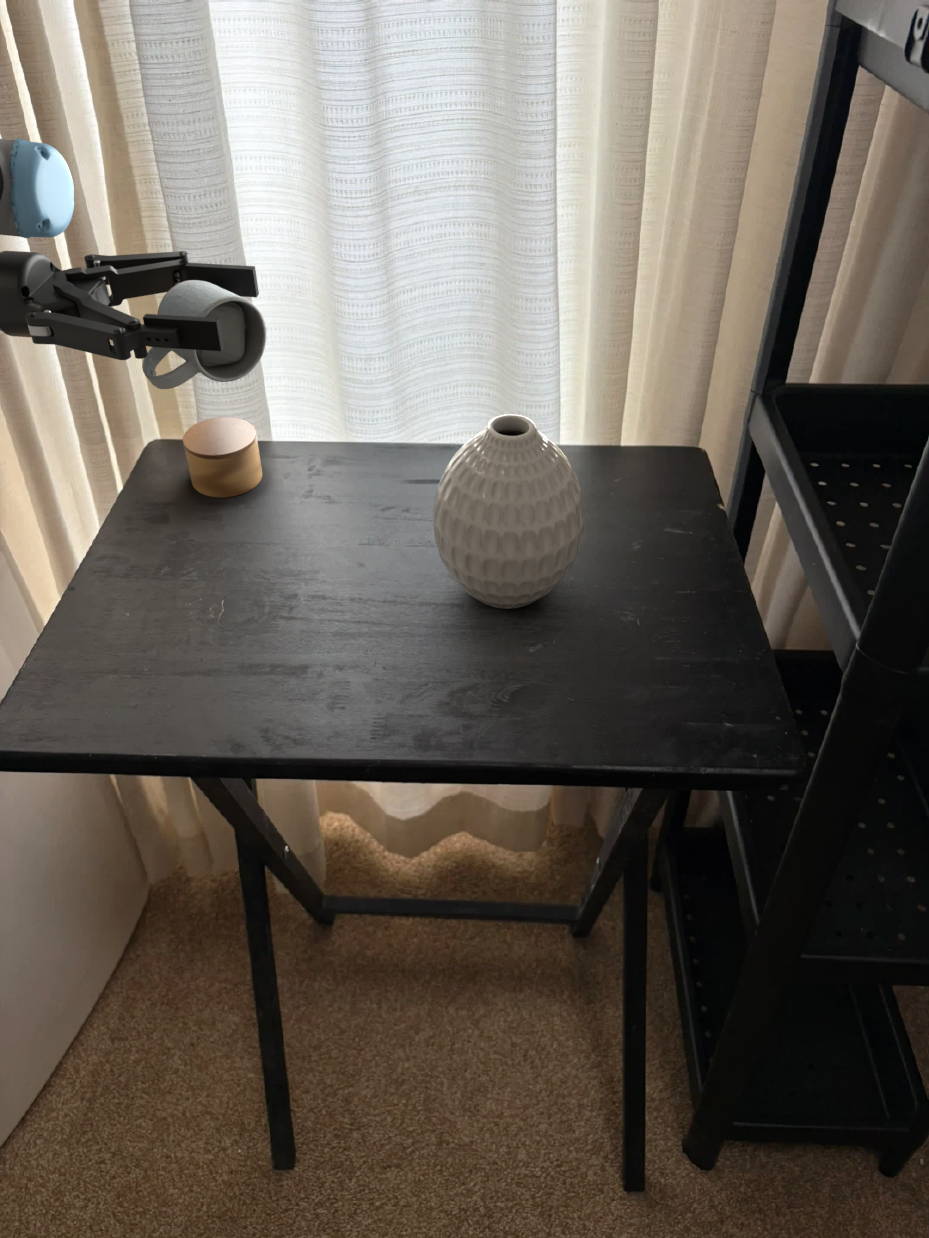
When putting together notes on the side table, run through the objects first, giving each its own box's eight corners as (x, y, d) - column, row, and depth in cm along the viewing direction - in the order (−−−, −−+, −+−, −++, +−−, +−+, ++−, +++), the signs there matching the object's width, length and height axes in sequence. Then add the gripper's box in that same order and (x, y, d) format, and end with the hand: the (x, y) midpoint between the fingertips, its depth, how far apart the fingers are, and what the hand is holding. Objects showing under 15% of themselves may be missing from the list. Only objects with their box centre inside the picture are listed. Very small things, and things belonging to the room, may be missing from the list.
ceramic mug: (226, 336, 101) (212, 260, 96) (273, 366, 97) (261, 288, 91) (129, 374, 96) (108, 295, 91) (173, 407, 91) (154, 326, 86)
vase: (476, 653, 87) (478, 488, 75) (411, 567, 95) (404, 408, 84) (605, 606, 91) (624, 444, 80) (532, 528, 99) (539, 372, 88)
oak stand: (193, 502, 103) (184, 459, 100) (189, 463, 108) (180, 422, 105) (266, 491, 104) (259, 449, 101) (258, 454, 109) (252, 412, 106)
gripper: (66, 281, 106) (277, 293, 103) (-44, 391, 89) (205, 408, 87) (46, 207, 101) (268, 217, 98) (-74, 309, 84) (189, 325, 82)
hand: (238, 307), depth 92 cm, fingers closed on ceramic mug, 10 cm apart
